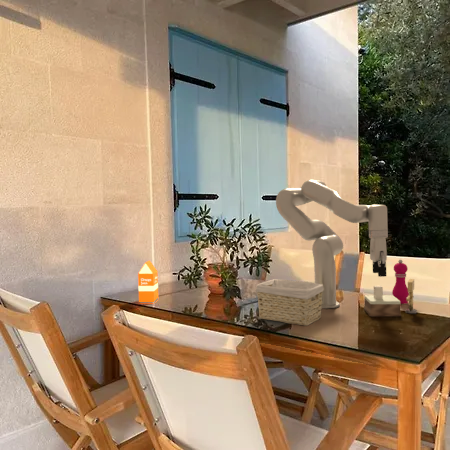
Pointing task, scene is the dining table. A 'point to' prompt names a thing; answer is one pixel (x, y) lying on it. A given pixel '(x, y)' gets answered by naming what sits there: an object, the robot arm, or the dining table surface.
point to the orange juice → (148, 283)
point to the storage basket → (290, 301)
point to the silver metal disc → (411, 311)
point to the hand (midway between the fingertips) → (379, 274)
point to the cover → (381, 297)
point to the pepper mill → (400, 283)
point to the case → (382, 309)
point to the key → (410, 293)
